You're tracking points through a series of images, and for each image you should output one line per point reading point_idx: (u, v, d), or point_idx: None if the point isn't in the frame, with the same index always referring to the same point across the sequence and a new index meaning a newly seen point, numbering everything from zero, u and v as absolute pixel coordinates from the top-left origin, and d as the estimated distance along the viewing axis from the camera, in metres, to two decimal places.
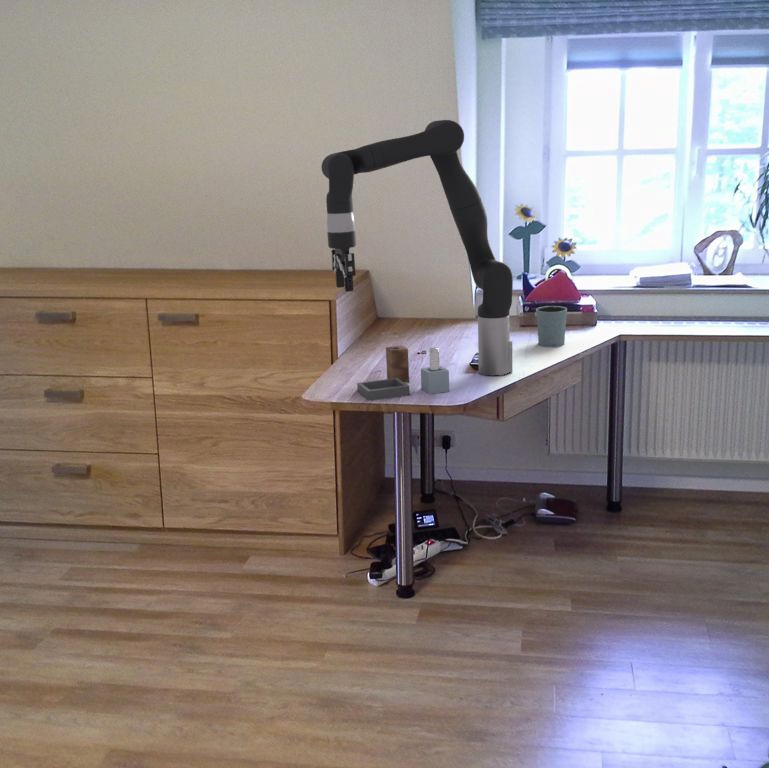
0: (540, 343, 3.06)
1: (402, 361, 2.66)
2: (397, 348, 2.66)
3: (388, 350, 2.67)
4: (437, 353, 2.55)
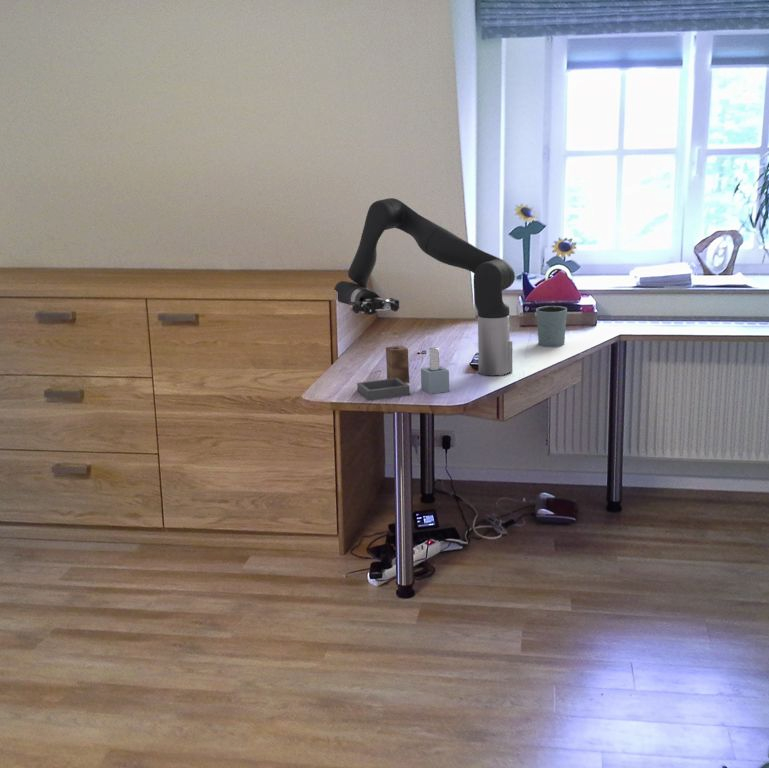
0: (540, 343, 3.06)
1: (402, 361, 2.66)
2: (397, 348, 2.66)
3: (388, 350, 2.67)
4: (437, 353, 2.55)
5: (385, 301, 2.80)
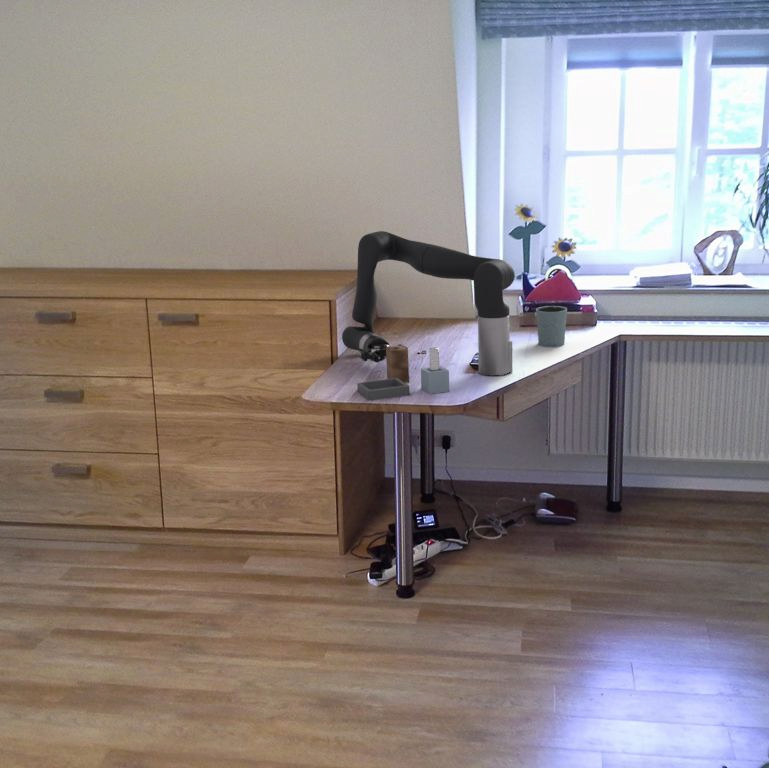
0: (540, 343, 3.06)
1: (402, 361, 2.66)
2: (397, 348, 2.66)
3: (388, 350, 2.67)
4: (437, 353, 2.55)
5: None
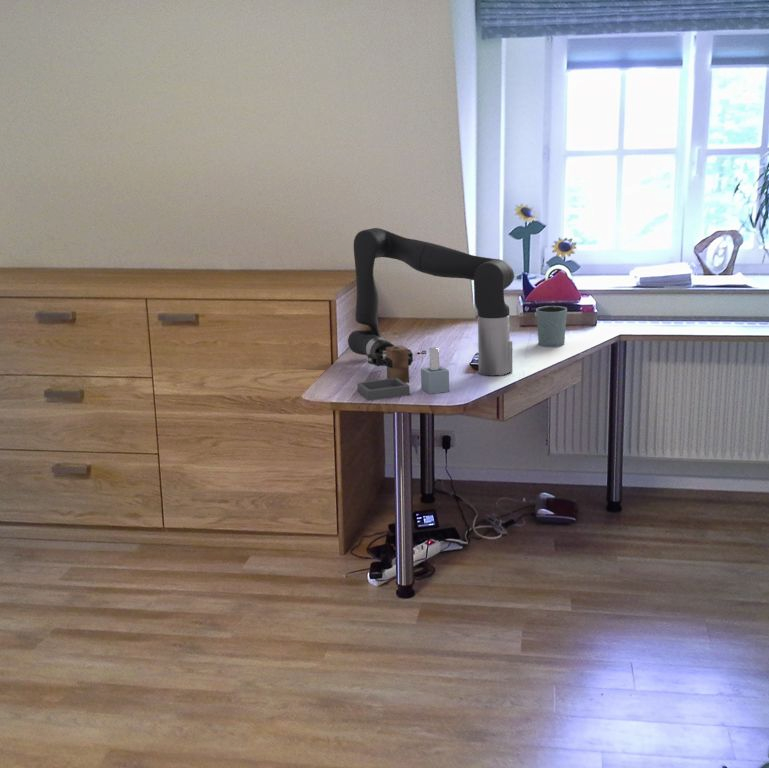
0: (540, 343, 3.06)
1: (402, 361, 2.66)
2: (397, 348, 2.66)
3: (388, 350, 2.67)
4: (437, 353, 2.55)
5: None
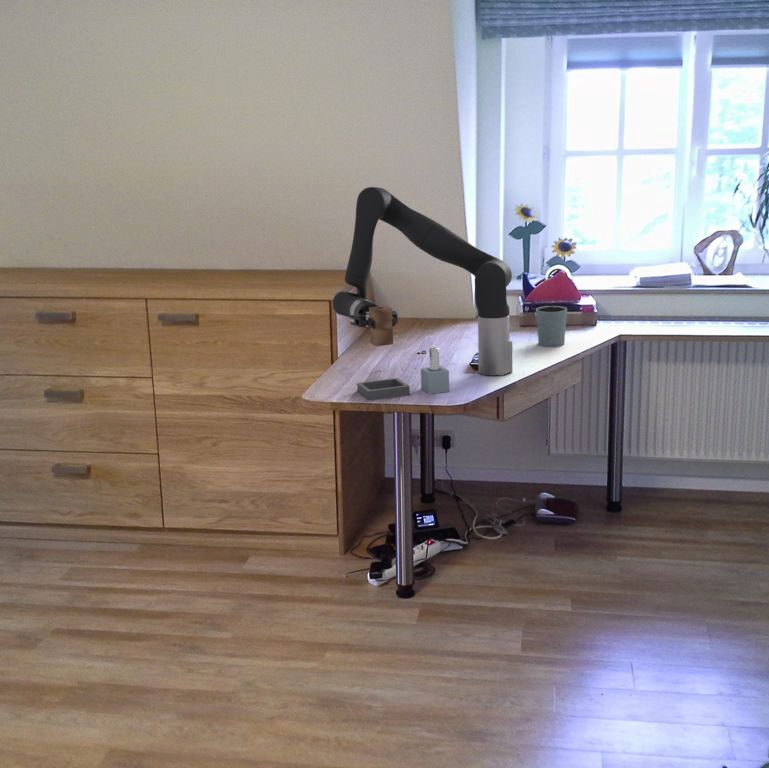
0: (540, 343, 3.06)
1: (385, 322, 2.52)
2: (381, 308, 2.53)
3: (371, 310, 2.53)
4: (437, 353, 2.55)
5: None
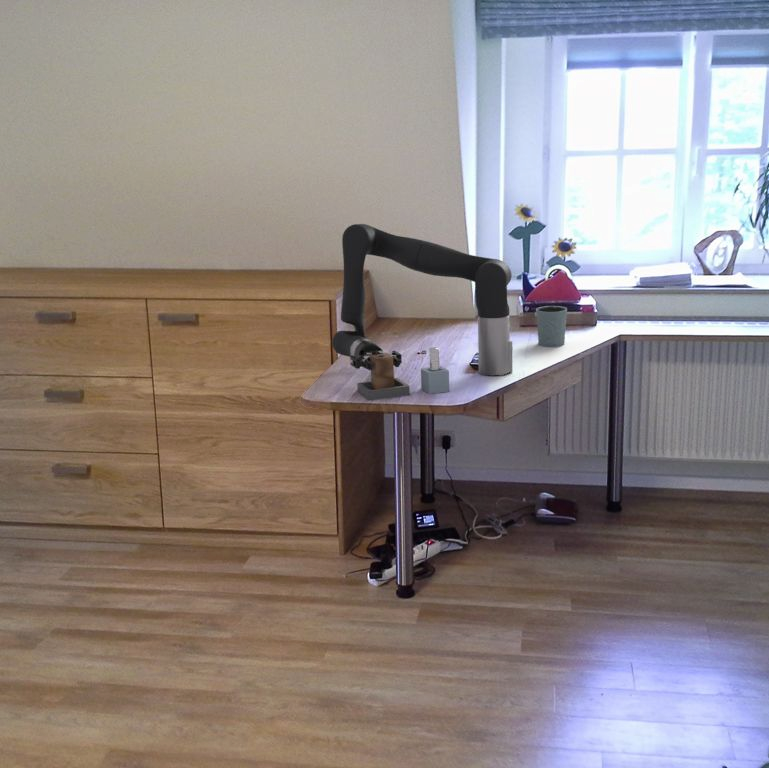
0: (540, 343, 3.06)
1: (387, 370, 2.54)
2: (382, 356, 2.54)
3: (372, 358, 2.55)
4: (437, 353, 2.55)
5: None
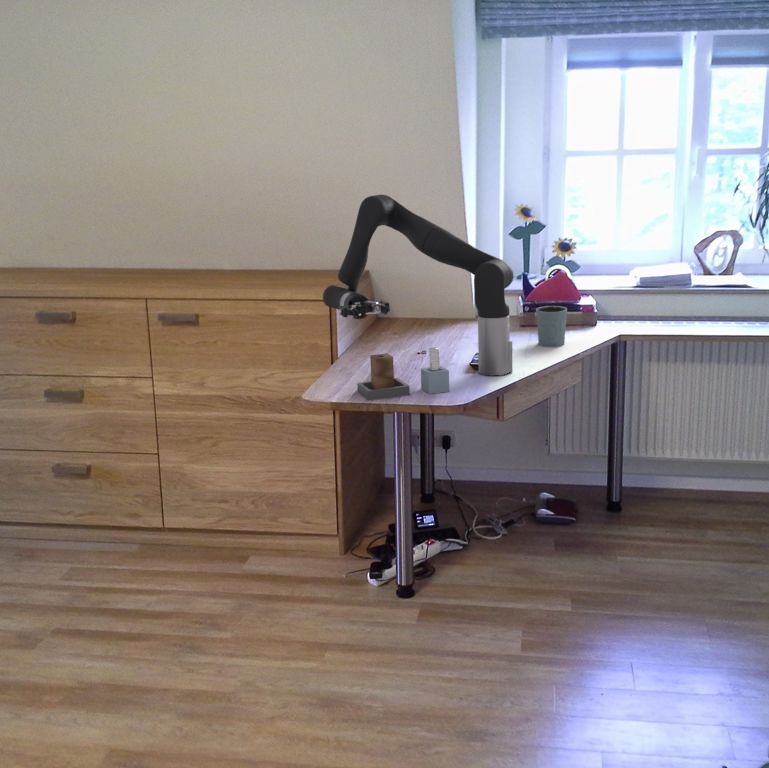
0: (540, 343, 3.06)
1: (387, 370, 2.54)
2: (382, 356, 2.54)
3: (372, 358, 2.55)
4: (437, 353, 2.55)
5: (375, 304, 2.70)
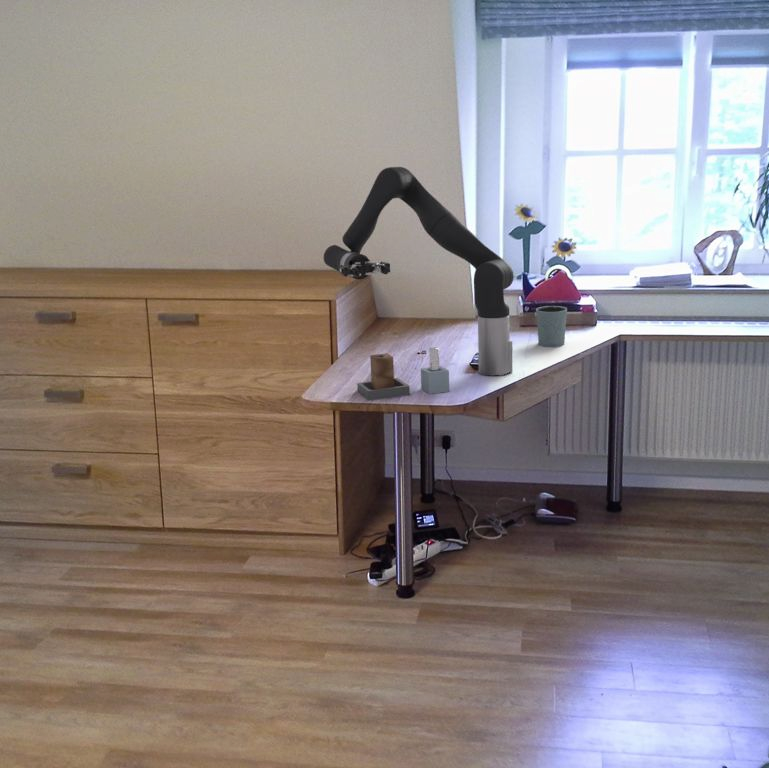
0: (540, 343, 3.06)
1: (387, 370, 2.54)
2: (382, 356, 2.54)
3: (372, 358, 2.55)
4: (437, 353, 2.55)
5: (375, 264, 2.69)
